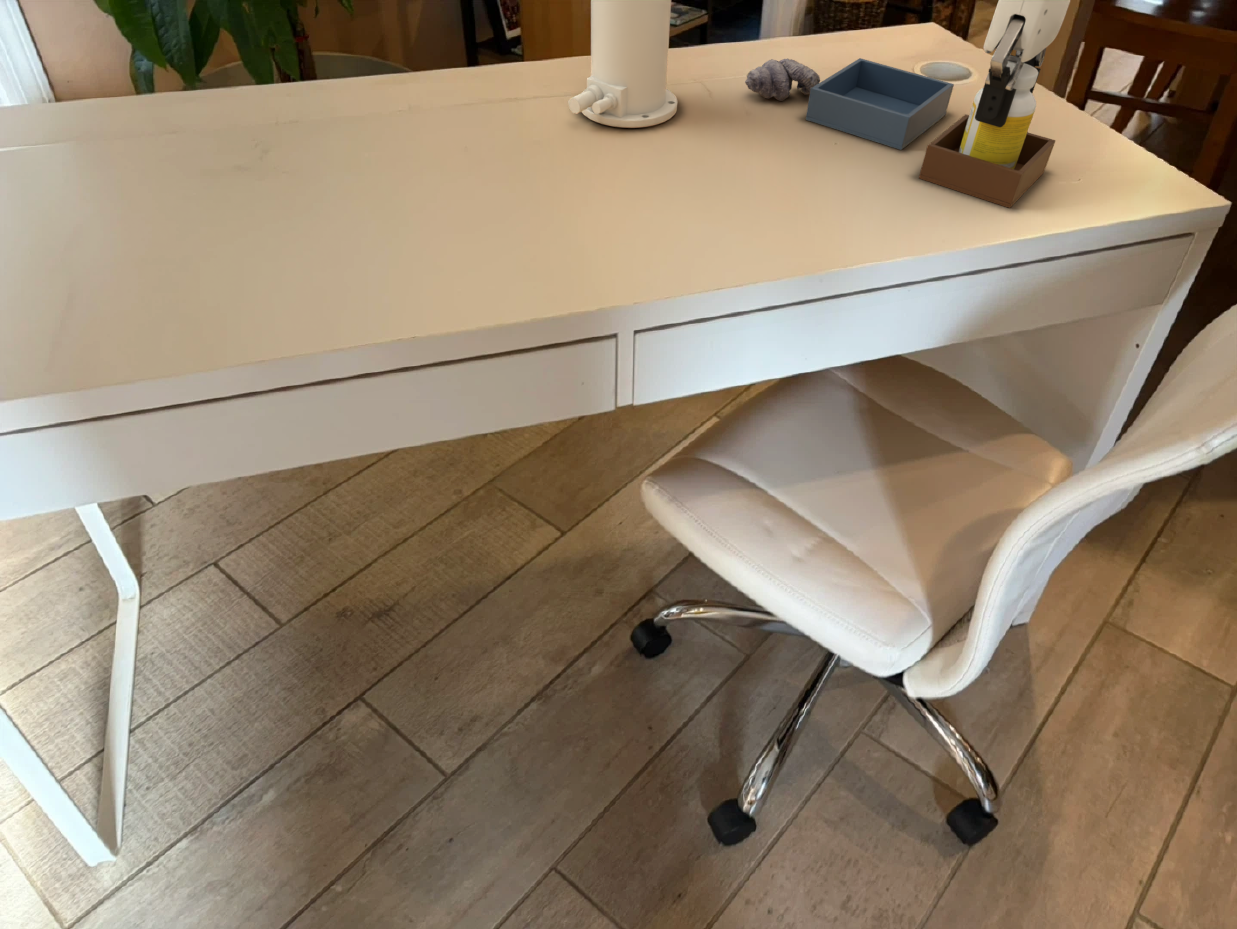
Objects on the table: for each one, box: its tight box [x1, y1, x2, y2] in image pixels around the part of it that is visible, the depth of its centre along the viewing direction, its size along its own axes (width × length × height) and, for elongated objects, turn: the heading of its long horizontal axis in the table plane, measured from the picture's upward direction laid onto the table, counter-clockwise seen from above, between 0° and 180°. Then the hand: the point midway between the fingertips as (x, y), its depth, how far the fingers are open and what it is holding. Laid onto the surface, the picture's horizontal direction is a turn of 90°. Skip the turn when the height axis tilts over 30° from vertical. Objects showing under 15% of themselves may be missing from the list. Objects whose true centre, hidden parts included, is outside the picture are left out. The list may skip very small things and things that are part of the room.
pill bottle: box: [959, 62, 1039, 169], centre depth 100 cm, size 6×6×12 cm
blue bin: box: [805, 57, 955, 151], centre depth 114 cm, size 13×13×4 cm
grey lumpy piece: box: [744, 58, 821, 102], centre depth 118 cm, size 5×5×10 cm
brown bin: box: [918, 114, 1056, 209], centre depth 103 cm, size 11×11×4 cm
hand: (1002, 110), depth 99 cm, fingers closed on pill bottle, 6 cm apart
